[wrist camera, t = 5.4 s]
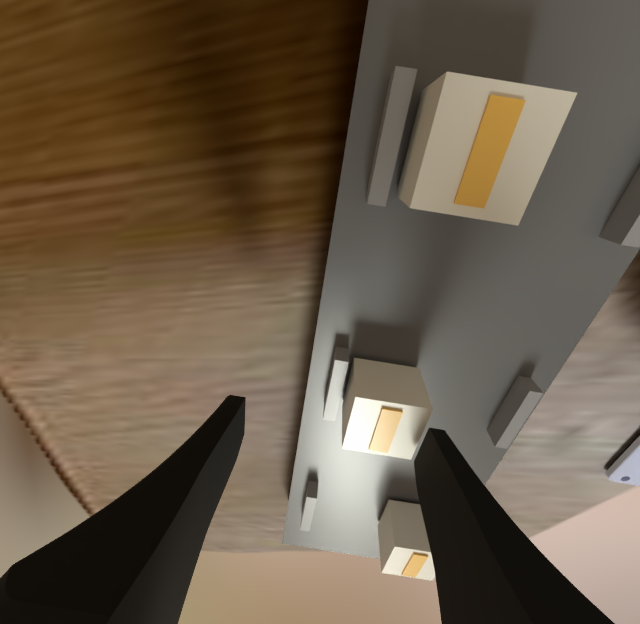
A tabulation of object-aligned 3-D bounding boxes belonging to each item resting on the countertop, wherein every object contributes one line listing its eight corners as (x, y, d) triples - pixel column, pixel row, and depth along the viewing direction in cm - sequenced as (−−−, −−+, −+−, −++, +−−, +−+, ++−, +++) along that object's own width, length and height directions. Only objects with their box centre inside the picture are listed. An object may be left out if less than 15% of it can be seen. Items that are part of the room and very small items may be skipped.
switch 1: (437, 507, 19) (450, 557, 16) (422, 533, 20) (432, 582, 18) (388, 499, 19) (395, 548, 16) (377, 526, 20) (381, 574, 18)
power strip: (718, -19, 10) (927, -112, 6) (421, 522, 25) (434, 584, 22) (380, -74, 10) (400, -199, 6) (288, 501, 25) (279, 559, 21)
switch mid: (419, 368, 14) (433, 411, 12) (401, 414, 15) (411, 461, 13) (353, 357, 14) (355, 398, 12) (342, 405, 15) (341, 450, 13)
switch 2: (521, 106, 9) (580, 91, 7) (482, 209, 11) (520, 226, 8) (422, 89, 9) (448, 70, 7) (396, 195, 11) (410, 208, 8)
